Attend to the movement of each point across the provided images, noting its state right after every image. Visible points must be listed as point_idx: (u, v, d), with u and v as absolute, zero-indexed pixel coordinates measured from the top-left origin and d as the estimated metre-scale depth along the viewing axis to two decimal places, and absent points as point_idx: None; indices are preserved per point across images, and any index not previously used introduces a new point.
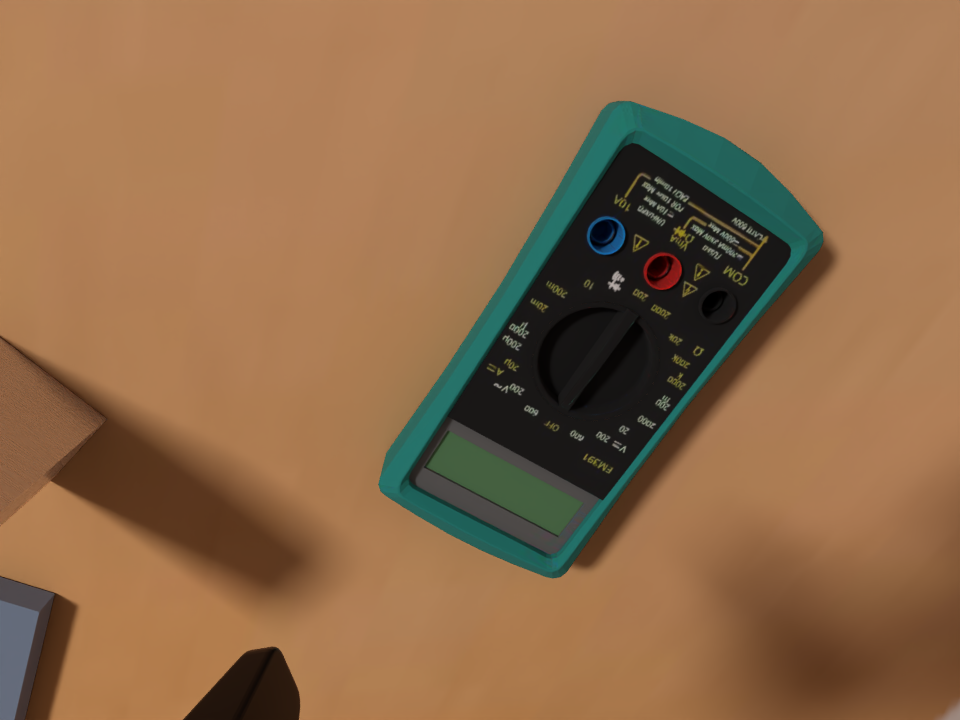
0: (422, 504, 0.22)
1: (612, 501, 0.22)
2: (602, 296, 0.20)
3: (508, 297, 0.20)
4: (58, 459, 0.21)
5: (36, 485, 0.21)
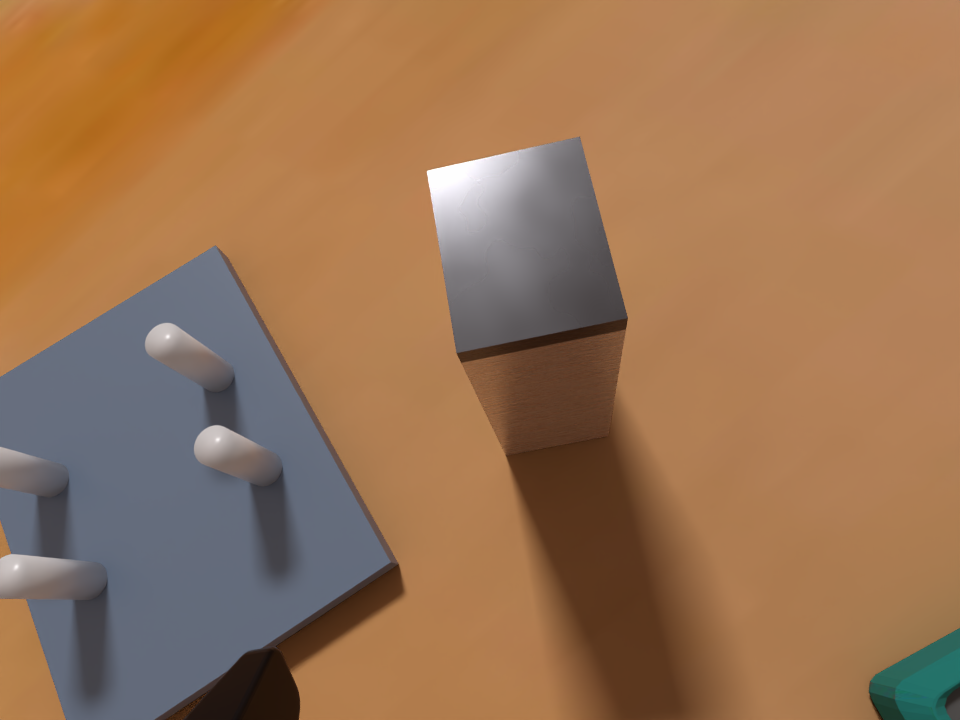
0: None
1: None
2: None
3: None
4: (611, 411, 0.20)
5: (574, 419, 0.20)
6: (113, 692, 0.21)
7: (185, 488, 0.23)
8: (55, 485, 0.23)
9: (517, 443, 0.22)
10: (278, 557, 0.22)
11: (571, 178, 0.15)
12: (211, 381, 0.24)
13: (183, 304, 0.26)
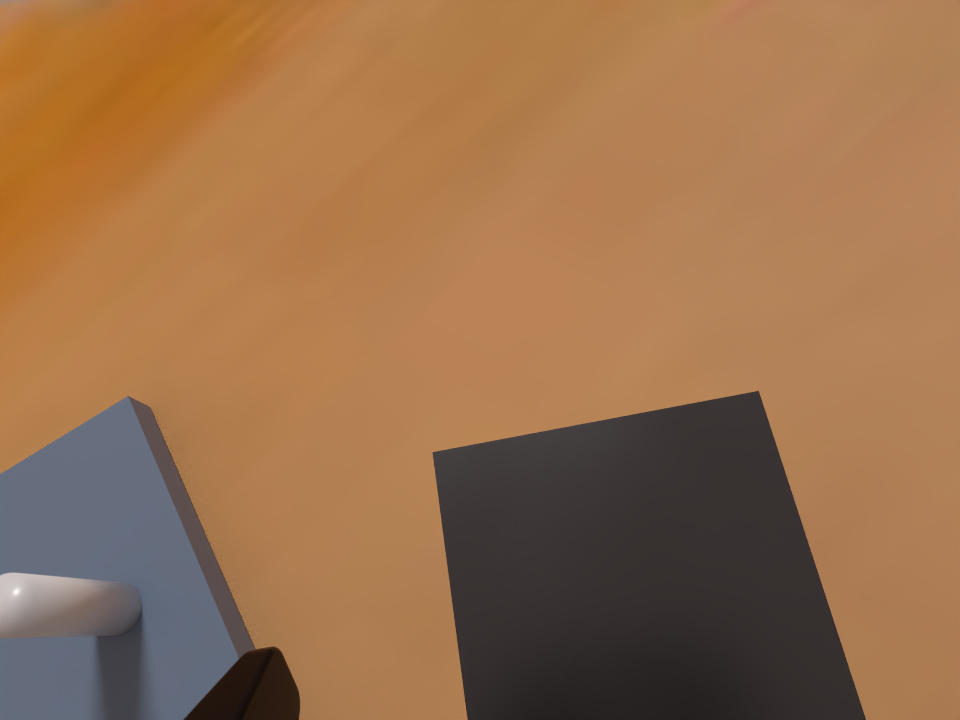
0: None
1: None
2: None
3: None
4: None
5: None
6: None
7: None
8: None
9: None
10: None
11: (749, 494, 0.07)
12: (100, 631, 0.15)
13: (76, 487, 0.18)
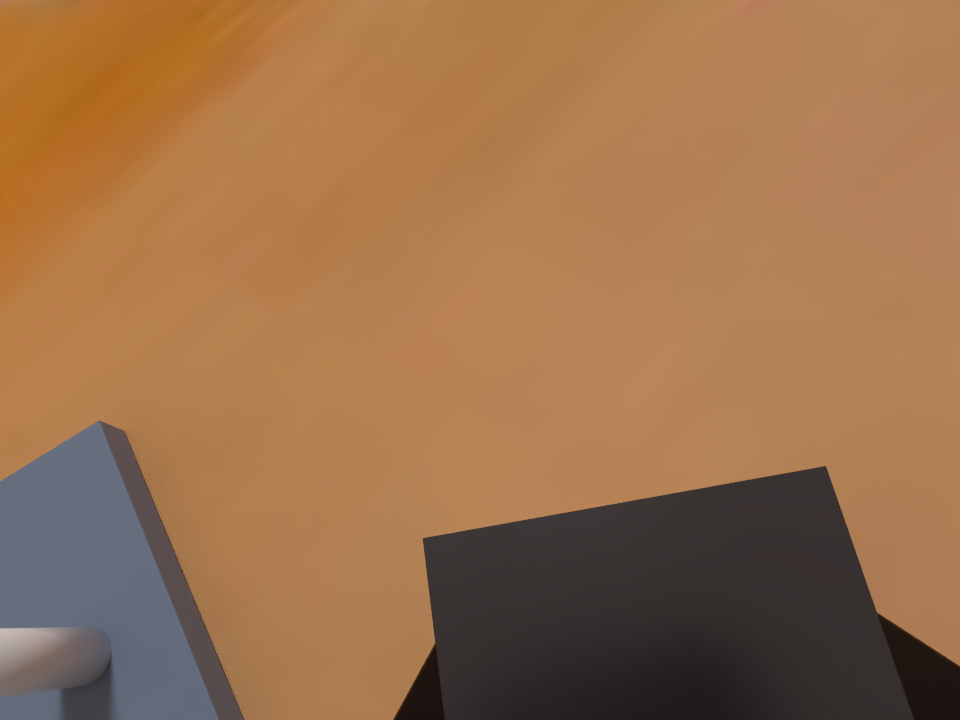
0: None
1: None
2: None
3: None
4: None
5: None
6: None
7: None
8: None
9: None
10: None
11: (818, 601, 0.05)
12: (63, 685, 0.14)
13: (42, 521, 0.16)
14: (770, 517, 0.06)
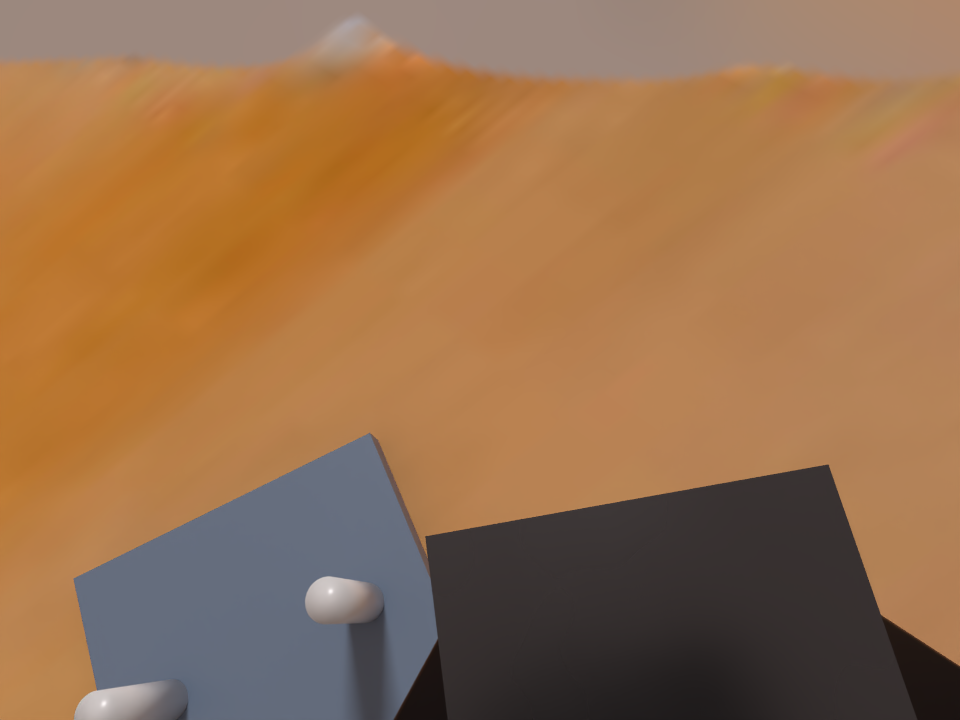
0: None
1: None
2: None
3: None
4: None
5: None
6: None
7: None
8: (174, 715, 0.21)
9: None
10: None
11: (821, 598, 0.05)
12: (362, 620, 0.20)
13: (329, 502, 0.23)
14: (772, 515, 0.06)
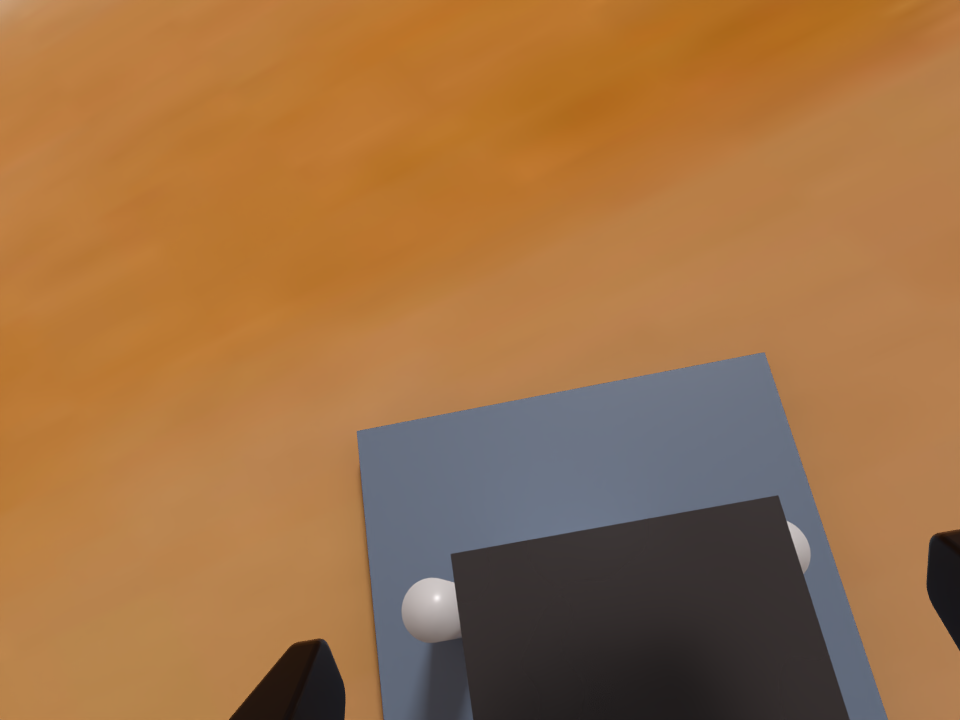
0: None
1: None
2: None
3: None
4: None
5: None
6: None
7: None
8: None
9: None
10: None
11: (769, 604, 0.07)
12: None
13: (700, 424, 0.17)
14: (732, 537, 0.07)
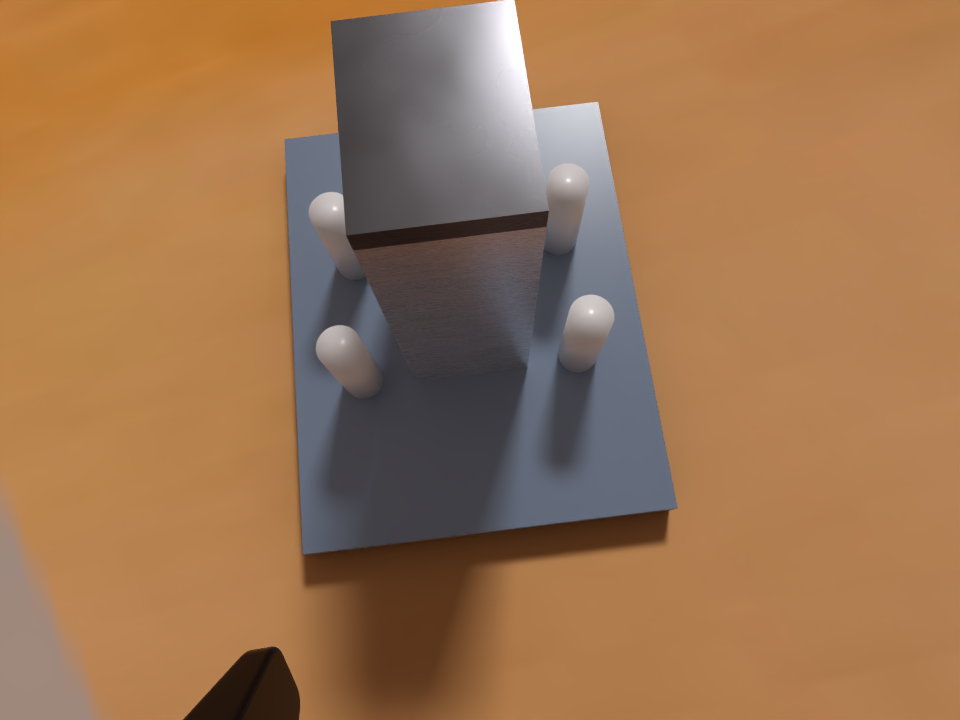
0: None
1: None
2: None
3: None
4: (531, 337, 0.19)
5: (489, 342, 0.18)
6: (355, 498, 0.20)
7: None
8: (362, 270, 0.22)
9: (427, 367, 0.20)
10: (563, 448, 0.21)
11: (499, 46, 0.13)
12: (562, 242, 0.22)
13: (544, 147, 0.24)
14: (486, 17, 0.13)
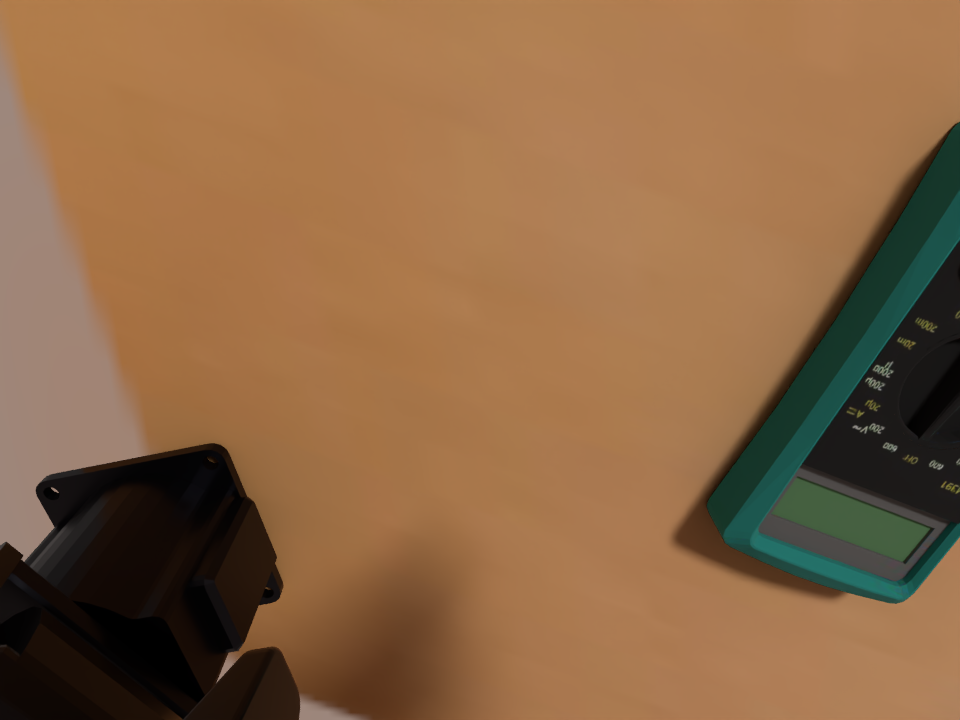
0: (774, 552, 0.22)
1: None
2: None
3: (871, 339, 0.19)
4: None
5: None
6: None
7: None
8: None
9: None
10: None
11: None
12: None
13: None
14: None
